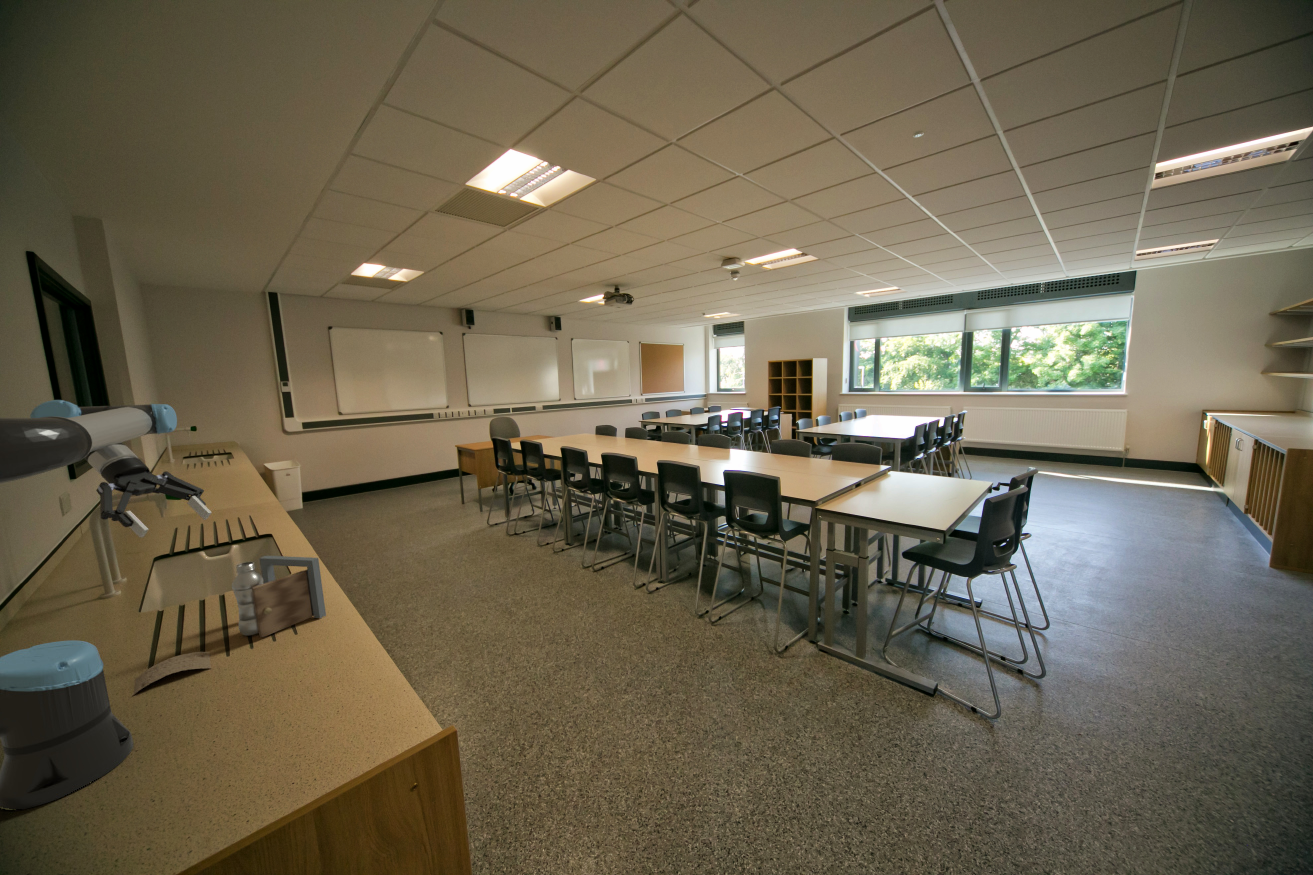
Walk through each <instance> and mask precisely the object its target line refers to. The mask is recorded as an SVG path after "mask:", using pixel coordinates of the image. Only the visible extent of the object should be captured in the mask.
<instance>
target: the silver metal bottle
mask: <svg viewBox="0 0 1313 875" xmlns="http://www.w3.org/2000/svg"><path fill="white" fill-rule="evenodd" d="M235 568H236V569H235V570H236V571H235V572H236V574H237V575H236V576H235V577H234V580H233V581H232V583H231V589H232V591H233V593H234V596H235V599H236V603H237V607H238V630H239V632H240V634H241V635H243V636H245V637H247V636H254V635H257V634H258V635H259V631H258V624H257V618H256V612H255V605H254V599H253V593H252V588H253V587H255V586H258V585H261V584H263V578H262V574H260V573H259V572H257V571H255V569H256V566H255V562H254V561H246V562H242V563H238V564H237V565H236V566H235Z"/></svg>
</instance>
